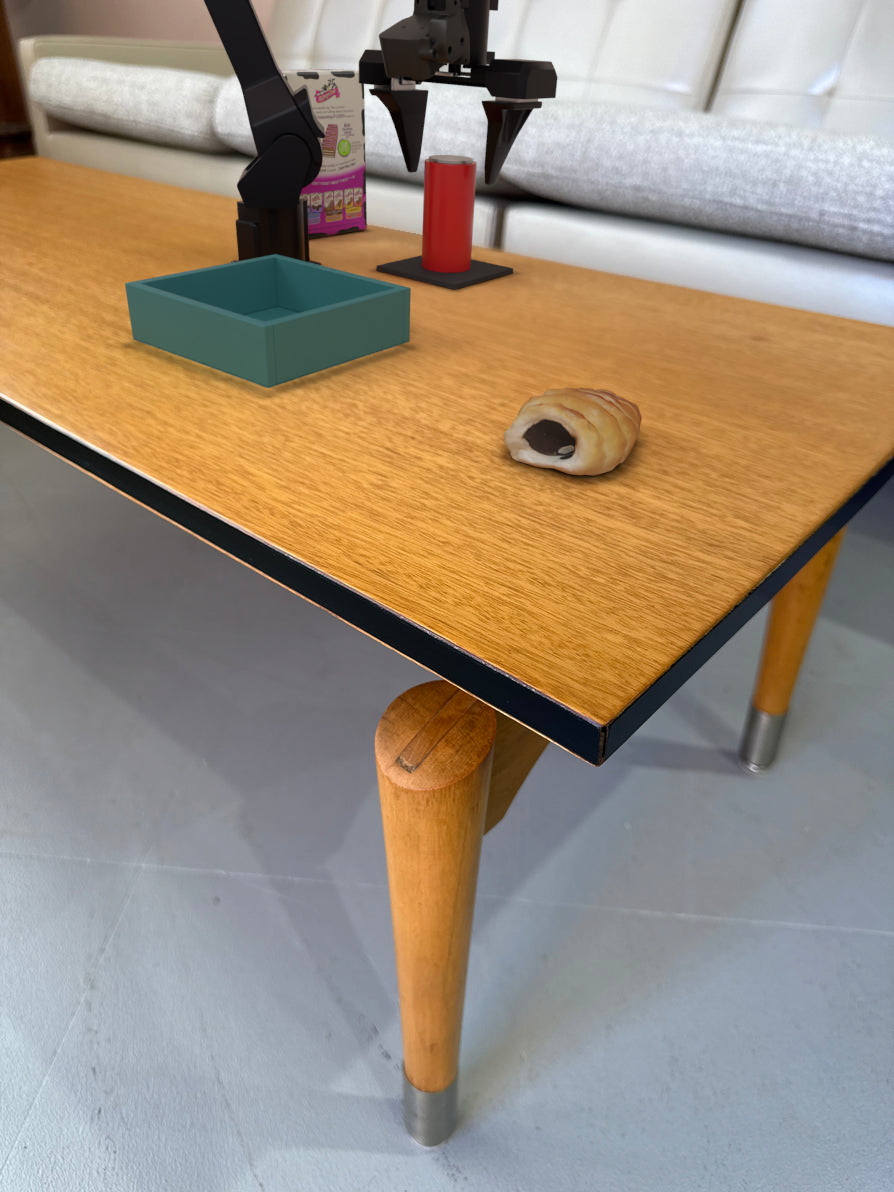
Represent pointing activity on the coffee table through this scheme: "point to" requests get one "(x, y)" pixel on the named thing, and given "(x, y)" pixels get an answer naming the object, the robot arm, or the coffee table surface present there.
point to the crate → (269, 317)
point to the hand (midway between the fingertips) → (449, 178)
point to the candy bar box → (336, 150)
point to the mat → (449, 280)
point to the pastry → (574, 431)
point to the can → (448, 213)
